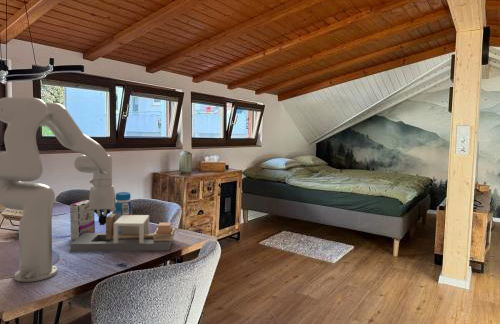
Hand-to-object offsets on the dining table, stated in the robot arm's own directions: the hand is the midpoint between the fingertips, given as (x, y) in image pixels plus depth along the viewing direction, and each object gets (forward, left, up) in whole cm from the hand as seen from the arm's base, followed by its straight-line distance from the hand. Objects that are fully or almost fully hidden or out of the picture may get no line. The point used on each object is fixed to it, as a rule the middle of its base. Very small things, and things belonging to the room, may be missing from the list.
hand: (102, 224), depth 151 cm
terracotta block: (0, -26, -5) cm, 27 cm away
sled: (0, -17, -6) cm, 17 cm away
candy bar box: (+12, +13, -9) cm, 20 cm away
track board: (0, -9, -9) cm, 13 cm away
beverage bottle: (+17, -4, -9) cm, 20 cm away
